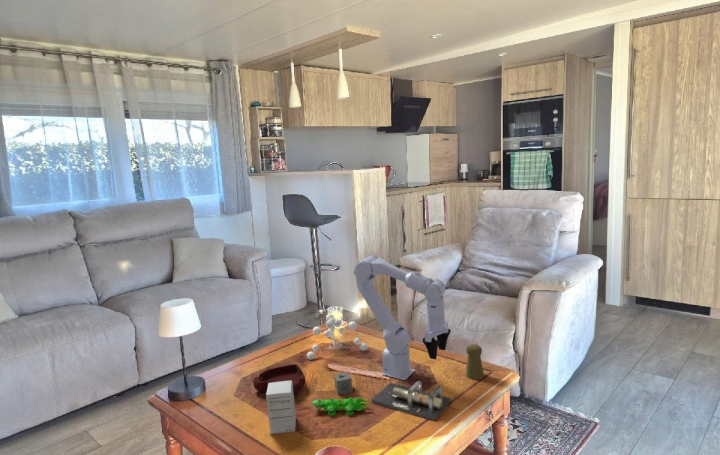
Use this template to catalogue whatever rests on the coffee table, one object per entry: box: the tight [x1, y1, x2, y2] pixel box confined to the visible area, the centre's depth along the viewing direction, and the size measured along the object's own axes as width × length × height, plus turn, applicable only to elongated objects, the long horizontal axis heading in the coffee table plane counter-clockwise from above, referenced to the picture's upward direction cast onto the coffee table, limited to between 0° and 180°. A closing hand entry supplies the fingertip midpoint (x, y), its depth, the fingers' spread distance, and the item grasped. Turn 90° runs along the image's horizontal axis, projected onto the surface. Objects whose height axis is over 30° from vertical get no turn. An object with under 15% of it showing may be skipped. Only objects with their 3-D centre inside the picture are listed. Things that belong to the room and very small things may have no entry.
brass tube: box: [392, 387, 443, 409], centre depth 142 cm, size 16×3×3 cm
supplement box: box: [265, 381, 297, 435], centre depth 135 cm, size 7×7×13 cm
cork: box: [465, 343, 485, 381], centre depth 157 cm, size 6×6×11 cm
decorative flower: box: [306, 313, 368, 361], centre depth 185 cm, size 25×22×14 cm
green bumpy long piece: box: [311, 396, 370, 416], centre depth 142 cm, size 7×18×4 cm, turn 86°
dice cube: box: [333, 371, 353, 396], centre depth 154 cm, size 5×5×5 cm
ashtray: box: [252, 364, 306, 397], centre depth 160 cm, size 18×16×5 cm
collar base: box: [371, 380, 452, 422], centre depth 144 cm, size 22×12×6 cm, turn 56°
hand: (437, 354), depth 156 cm, fingers open, 7 cm apart
